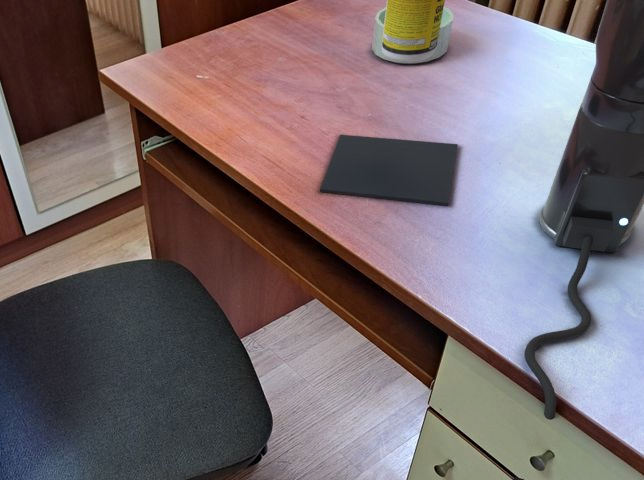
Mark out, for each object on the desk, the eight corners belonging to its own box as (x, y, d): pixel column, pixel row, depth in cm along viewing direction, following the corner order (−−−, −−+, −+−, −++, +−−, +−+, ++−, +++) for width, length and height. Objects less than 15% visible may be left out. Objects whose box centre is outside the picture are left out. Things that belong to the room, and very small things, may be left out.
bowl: (443, 67, 106) (450, 33, 102) (366, 64, 110) (370, 30, 106) (450, 36, 113) (456, 2, 109) (378, 33, 117) (381, 1, 113)
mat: (447, 206, 81) (448, 202, 81) (319, 192, 86) (319, 188, 86) (457, 147, 90) (457, 144, 90) (339, 137, 95) (340, 134, 95)
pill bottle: (438, 62, 74) (458, -46, 66) (382, 64, 76) (394, -42, 68) (433, 39, 78) (450, -65, 70) (379, 42, 80) (391, -61, 72)
